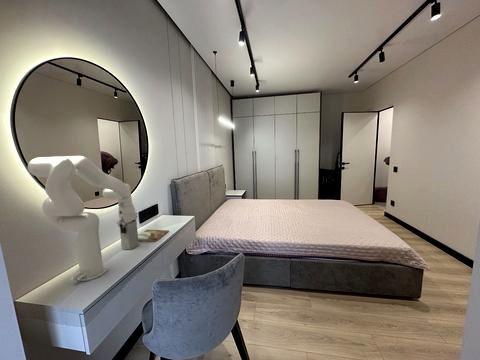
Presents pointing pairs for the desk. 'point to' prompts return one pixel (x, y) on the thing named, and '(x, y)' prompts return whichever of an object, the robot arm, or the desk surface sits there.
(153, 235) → the slider knob
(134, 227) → the skincare box
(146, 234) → the dock base
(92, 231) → the robot arm
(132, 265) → the desk surface
